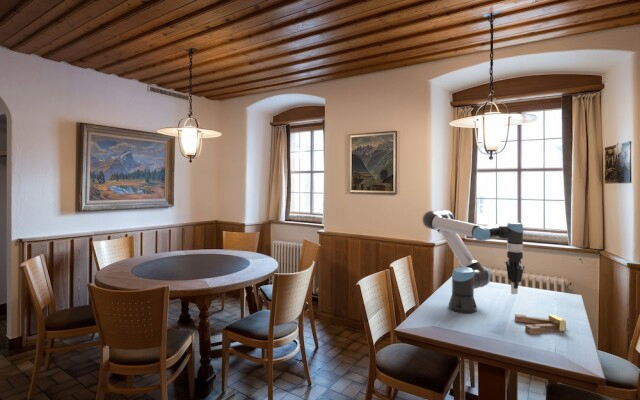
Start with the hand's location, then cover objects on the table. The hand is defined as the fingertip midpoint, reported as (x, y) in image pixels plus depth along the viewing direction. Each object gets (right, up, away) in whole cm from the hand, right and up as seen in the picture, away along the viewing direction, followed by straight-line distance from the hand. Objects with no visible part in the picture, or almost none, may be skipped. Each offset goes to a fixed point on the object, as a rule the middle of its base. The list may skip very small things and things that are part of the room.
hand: (514, 293), depth 195 cm
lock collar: (+12, -13, -18) cm, 25 cm away
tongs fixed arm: (+4, -13, -20) cm, 25 cm away
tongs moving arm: (+7, -12, -11) cm, 18 cm away
